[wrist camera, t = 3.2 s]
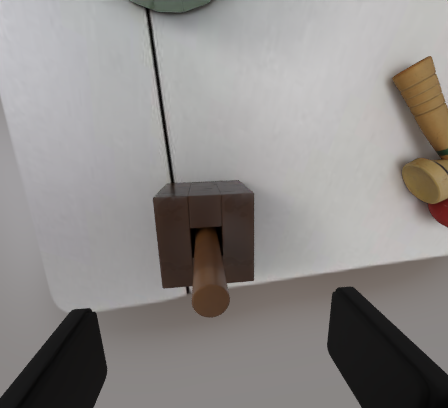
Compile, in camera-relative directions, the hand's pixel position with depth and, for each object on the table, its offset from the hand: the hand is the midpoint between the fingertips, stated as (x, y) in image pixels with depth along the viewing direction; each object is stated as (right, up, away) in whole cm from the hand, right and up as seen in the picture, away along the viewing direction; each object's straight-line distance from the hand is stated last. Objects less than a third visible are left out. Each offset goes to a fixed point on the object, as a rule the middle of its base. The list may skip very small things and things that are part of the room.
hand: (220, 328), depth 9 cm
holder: (-2, +4, +15) cm, 16 cm away
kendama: (+22, +11, +16) cm, 29 cm away
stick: (-2, +4, +15) cm, 16 cm away
